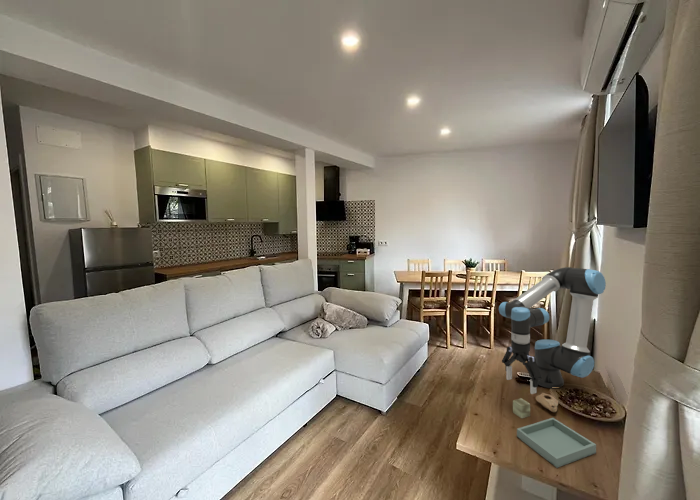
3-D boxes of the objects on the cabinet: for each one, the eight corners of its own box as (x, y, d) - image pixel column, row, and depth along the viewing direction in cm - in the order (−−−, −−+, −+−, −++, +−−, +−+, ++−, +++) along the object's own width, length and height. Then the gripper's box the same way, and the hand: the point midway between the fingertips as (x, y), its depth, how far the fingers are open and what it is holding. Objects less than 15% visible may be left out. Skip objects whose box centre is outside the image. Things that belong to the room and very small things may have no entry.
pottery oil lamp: (544, 415, 143) (537, 399, 145) (540, 409, 153) (533, 394, 156) (565, 410, 140) (557, 394, 143) (558, 405, 151) (551, 389, 154)
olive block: (521, 410, 148) (521, 398, 148) (530, 416, 143) (530, 403, 143) (513, 412, 147) (512, 400, 146) (521, 418, 142) (521, 406, 141)
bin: (552, 425, 136) (552, 417, 136) (596, 453, 119) (596, 444, 119) (516, 436, 130) (516, 428, 130) (556, 467, 113) (556, 458, 113)
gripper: (493, 334, 153) (494, 375, 155) (538, 353, 129) (538, 401, 131) (506, 331, 155) (506, 372, 157) (551, 350, 131) (551, 397, 133)
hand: (520, 385), depth 144 cm, fingers open, 13 cm apart
